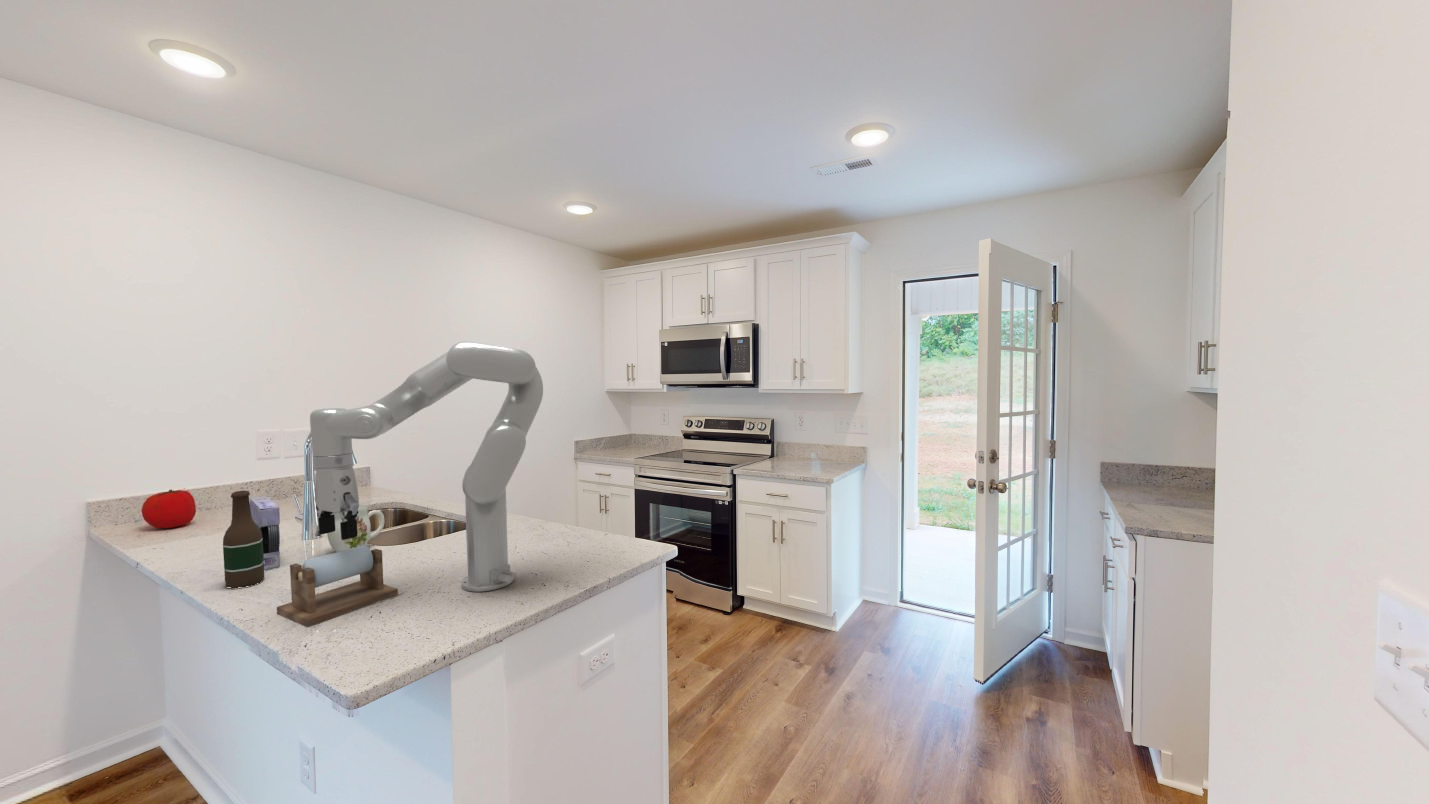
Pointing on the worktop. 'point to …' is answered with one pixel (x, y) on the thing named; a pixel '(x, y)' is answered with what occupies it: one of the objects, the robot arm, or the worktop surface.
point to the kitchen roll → (339, 565)
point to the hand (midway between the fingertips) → (338, 535)
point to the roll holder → (334, 594)
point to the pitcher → (362, 530)
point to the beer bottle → (243, 545)
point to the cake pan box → (267, 529)
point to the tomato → (169, 509)
